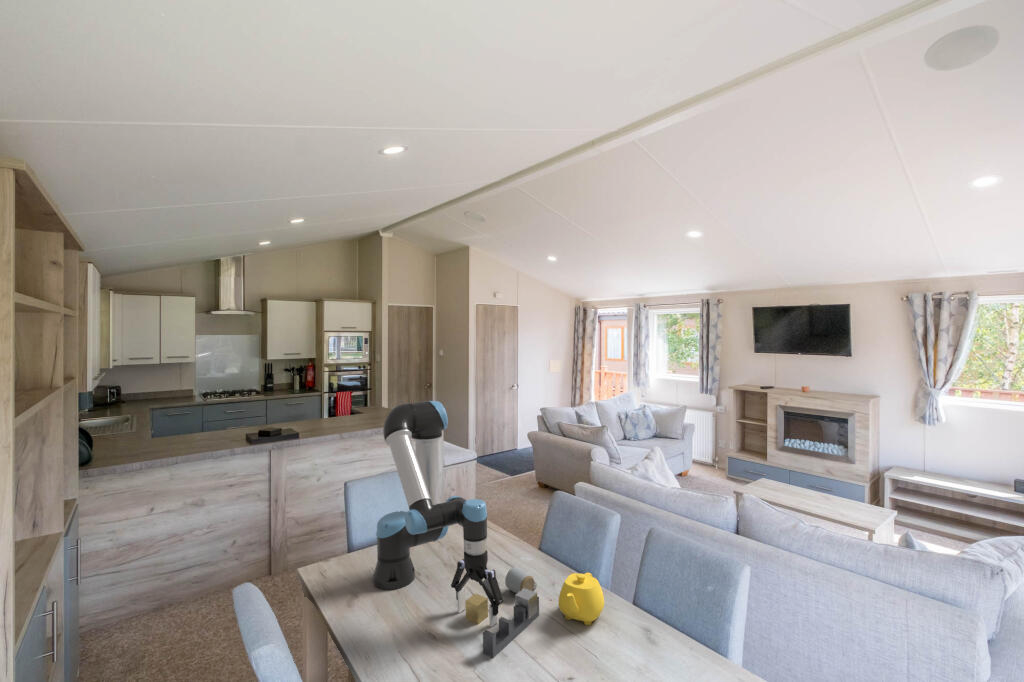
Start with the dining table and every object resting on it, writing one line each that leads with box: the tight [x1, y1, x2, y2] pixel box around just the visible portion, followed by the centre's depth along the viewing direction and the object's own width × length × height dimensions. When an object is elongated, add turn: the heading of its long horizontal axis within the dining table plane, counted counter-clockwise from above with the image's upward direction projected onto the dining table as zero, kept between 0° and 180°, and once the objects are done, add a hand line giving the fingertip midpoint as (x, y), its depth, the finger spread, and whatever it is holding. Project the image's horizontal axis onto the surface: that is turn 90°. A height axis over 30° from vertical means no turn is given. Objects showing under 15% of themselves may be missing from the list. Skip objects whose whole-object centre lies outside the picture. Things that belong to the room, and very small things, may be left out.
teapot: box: [558, 572, 605, 626], centre depth 151 cm, size 14×20×13 cm
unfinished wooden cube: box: [465, 593, 489, 625], centre depth 151 cm, size 5×5×6 cm
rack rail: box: [482, 595, 540, 659], centre depth 143 cm, size 4×24×6 cm, turn 144°
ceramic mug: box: [504, 566, 538, 594], centre depth 167 cm, size 11×8×8 cm
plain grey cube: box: [514, 588, 538, 619], centre depth 149 cm, size 5×5×6 cm
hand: (477, 617), depth 151 cm, fingers open, 12 cm apart
